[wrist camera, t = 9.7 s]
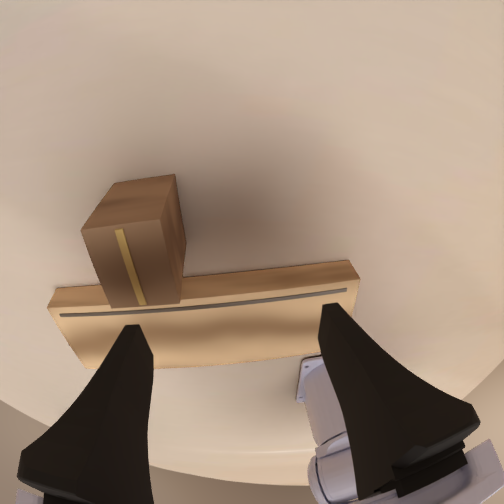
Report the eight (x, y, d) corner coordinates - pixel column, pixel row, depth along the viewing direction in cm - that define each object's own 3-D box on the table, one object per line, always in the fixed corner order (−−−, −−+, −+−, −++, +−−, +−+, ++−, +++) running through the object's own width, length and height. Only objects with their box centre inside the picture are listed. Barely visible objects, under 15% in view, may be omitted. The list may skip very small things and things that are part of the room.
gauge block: (190, 266, 22) (187, 330, 16) (138, 271, 21) (122, 333, 16) (174, 173, 18) (159, 220, 13) (114, 183, 17) (79, 231, 12)
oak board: (335, 328, 27) (343, 348, 25) (91, 349, 26) (85, 369, 24) (348, 260, 23) (361, 279, 21) (56, 288, 21) (46, 308, 19)
